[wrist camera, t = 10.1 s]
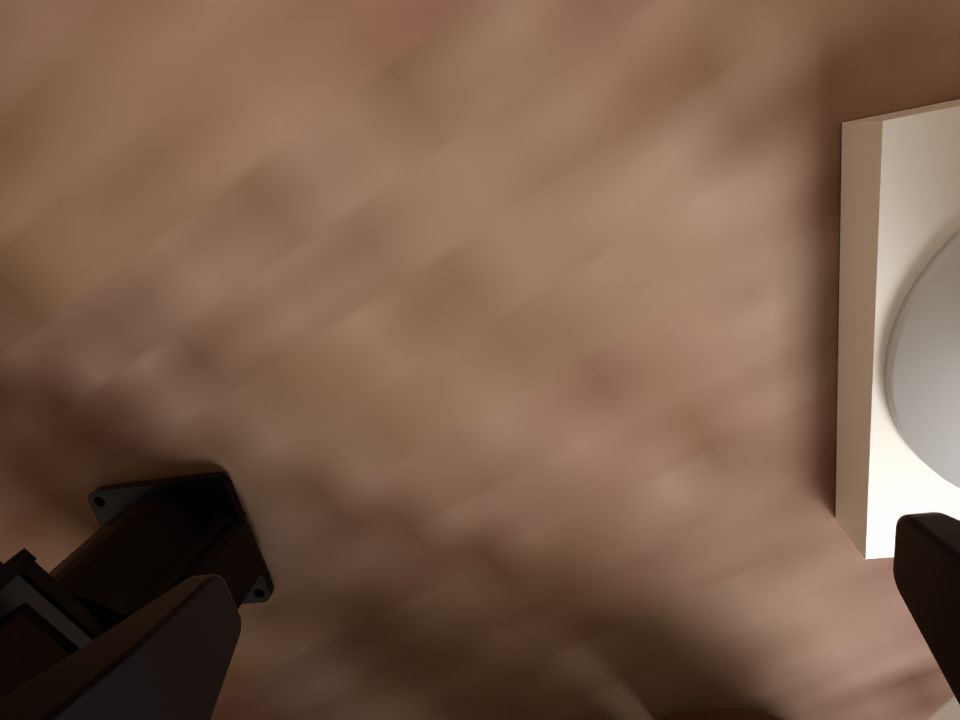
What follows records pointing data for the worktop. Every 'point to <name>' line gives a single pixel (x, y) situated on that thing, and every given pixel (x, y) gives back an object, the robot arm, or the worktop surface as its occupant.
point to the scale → (898, 323)
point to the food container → (719, 715)
